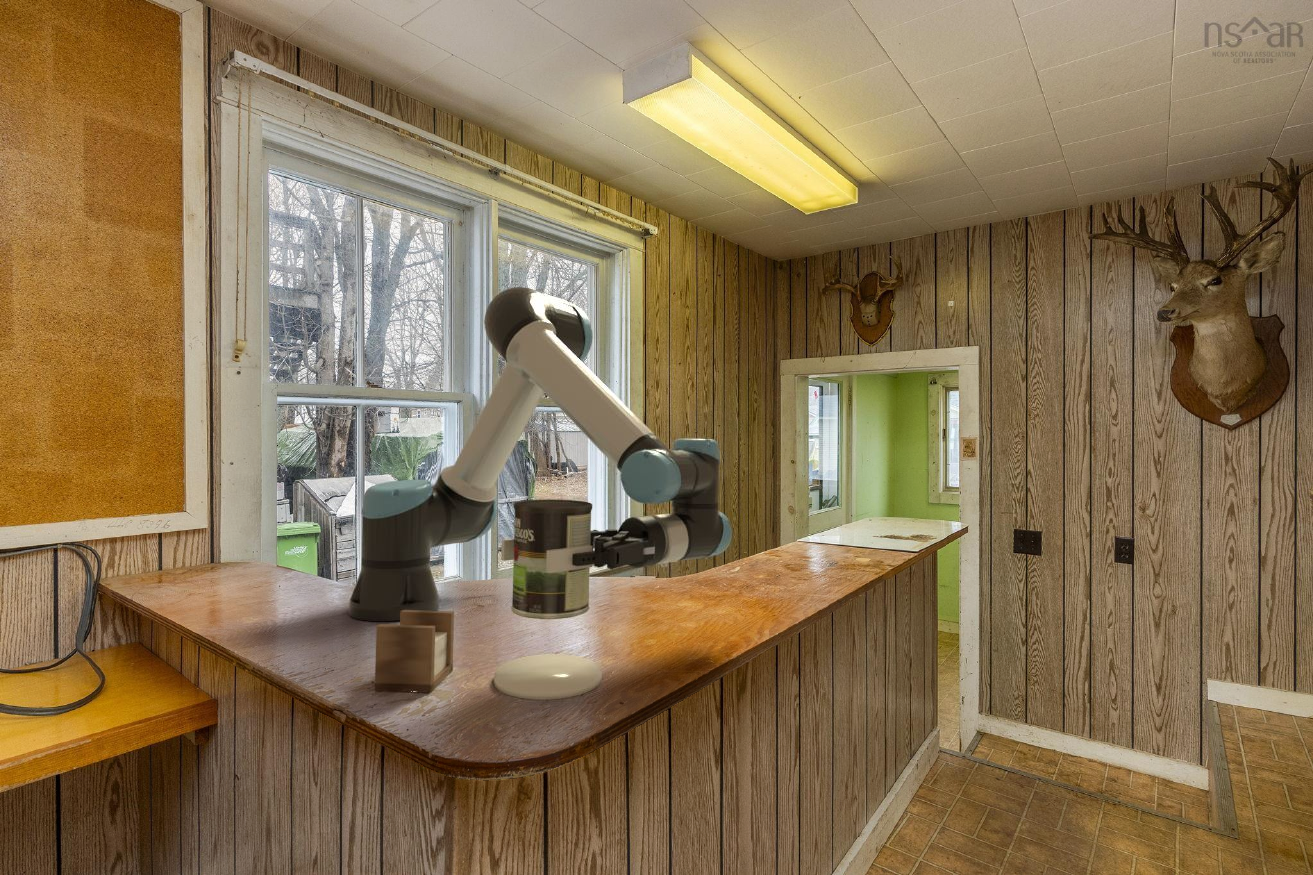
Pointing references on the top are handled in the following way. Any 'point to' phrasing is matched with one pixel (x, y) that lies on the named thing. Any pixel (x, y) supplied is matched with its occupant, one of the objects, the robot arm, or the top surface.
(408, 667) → the napkin caddy
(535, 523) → the coffee can
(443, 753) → the top surface
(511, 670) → the disc
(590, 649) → the top surface
